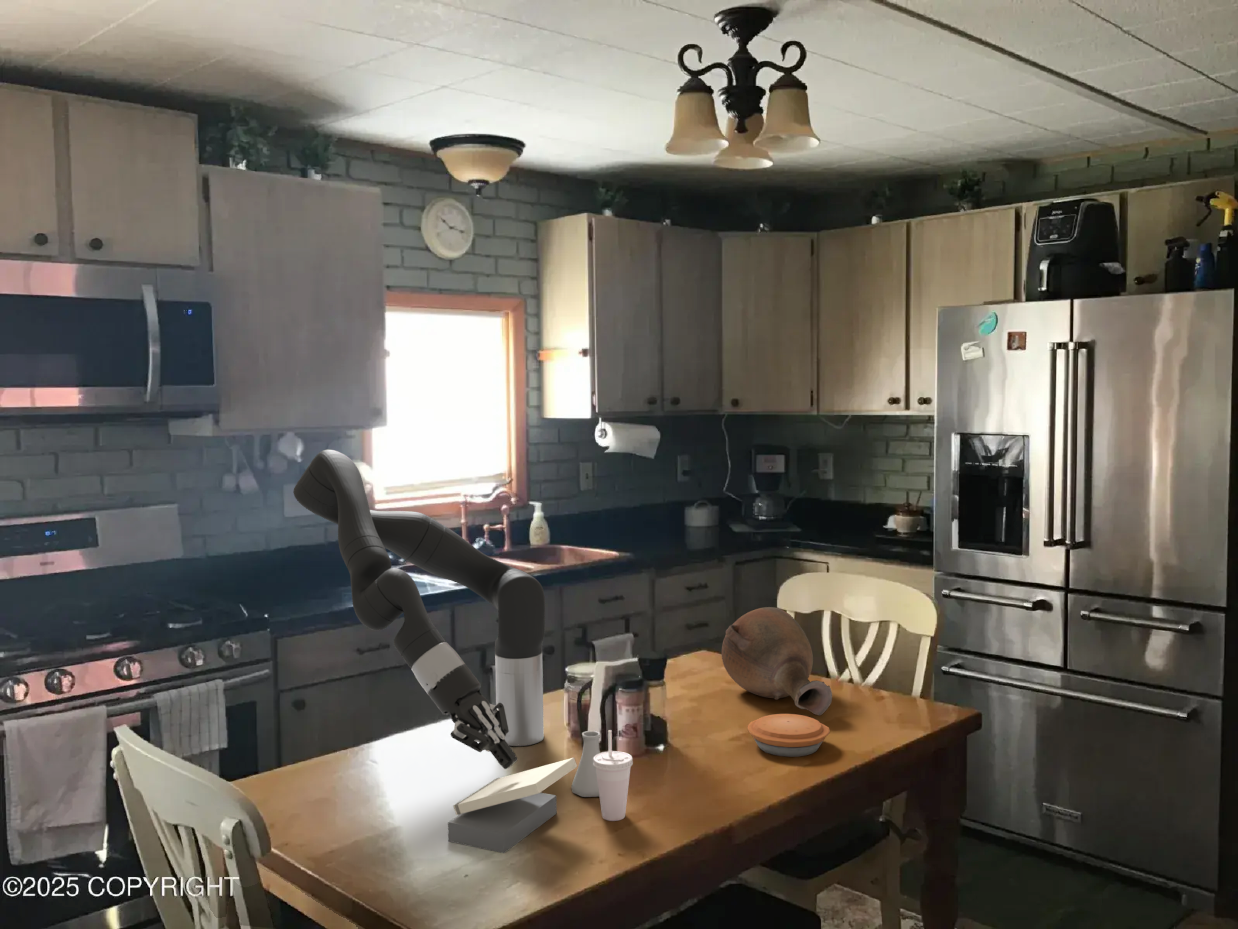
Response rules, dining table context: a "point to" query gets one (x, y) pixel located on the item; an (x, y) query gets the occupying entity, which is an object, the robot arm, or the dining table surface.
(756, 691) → the jug
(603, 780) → the smoothie
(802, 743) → the pie
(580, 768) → the flask
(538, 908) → the dining table surface
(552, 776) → the panel
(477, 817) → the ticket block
